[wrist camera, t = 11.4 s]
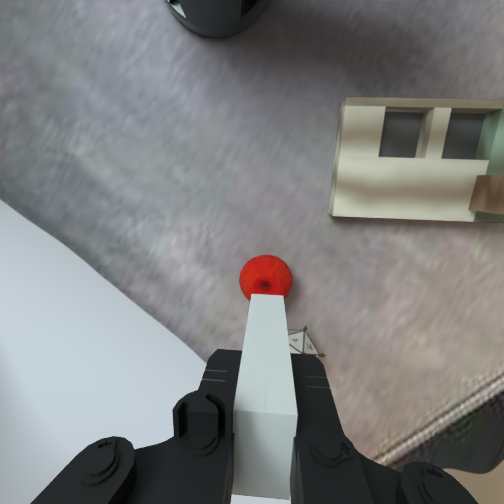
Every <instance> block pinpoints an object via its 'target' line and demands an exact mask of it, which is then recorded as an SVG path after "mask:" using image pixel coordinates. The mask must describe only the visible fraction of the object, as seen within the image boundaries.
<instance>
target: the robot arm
mask: <svg viewBox="0 0 504 504" xmlns="http://www.w3.org/2000/svg"><path fill="white" fill-rule="evenodd" d="M165 1H166V3H167V5H168V7H169V8H170V10H171V11H172V13H173V14H174V16H175V17H176V18H177V19H178V20H179V21H180V22H181V23H182V24H183V25H184V26H185V27H187V28H188V29H189V30H191V31H193V32H195V33H196V34H199V35H202V36H205V37H209V38H225V37H230V36H233V35H235V34H238V33H240V32H242V31H243V30H245V29H246V28H248V27H249V26H250V25H252V24H253V23H254V22H255V21H256V20H257V19H258V17H259V16H260V15H261V14H262V12H263V11H264V9H265V8H266V6H267V4H268V2H269V0H165ZM173 426H174V437H172V438H170V439H168V440H167V441H165V442H162V443H159V444H157V445H152V446H147V447H144V448H139V449H135V450H134V448H133V445H132V443H131V442H130V441H128V440H127V439H125V438H123V437H115V436H113V437H108V438H103V439H100V440H98V441H96V442H95V443H93V444H90V445H88V446H87V447H86V448H85V449H84V450H83V451H81V452H80V453H79V454H78V455H76V456H75V458H74V459H73V460H72V461H71V462H70V463H69V464H68V465H67V466H66V467H65V468H64V469H63V470H62V471H61V472H60V473H59V474H58V475H57V476H56V477H55V478H54V479H53V481H52V482H51V483H50V484H49V485H48V486H47V487H46V488H45V489H44V490H43V491H42V492H41V493H40V494H39V495H38V496H37V497H36V498H35V499H34V501H32V503H31V504H230V502H231V495H232V494H235V495H245V496H256V497H265V498H266V497H267V498H276V499H286V500H289V498H290V496H291V504H478V503H477V501H475V499H474V498H473V497H472V495H471V494H470V493H469V492H468V491H467V490H466V489H465V488H464V487H463V486H462V485H461V484H460V483H459V482H458V481H457V480H456V479H455V478H454V477H453V476H451V475H450V474H448V473H447V472H445V471H444V470H442V469H441V468H439V467H436V466H434V465H431V464H428V463H426V462H411V463H409V464H407V465H405V466H404V468H403V470H402V472H398V471H396V470H393V469H391V468H388V467H386V466H383V465H381V464H378V463H376V462H374V461H372V460H370V459H368V458H366V457H365V456H363V455H362V454H361V453H359V452H358V451H357V450H356V449H355V447H354V446H353V444H352V442H351V441H350V440H349V439H348V438H347V437H346V436H345V435H344V432H343V430H342V427H341V423H340V420H339V417H338V413H337V410H336V406H335V403H334V400H333V396H332V393H331V389H330V386H329V382H328V379H327V376H326V372H325V369H324V365H323V364H322V363H321V362H320V360H319V359H318V358H317V357H316V356H315V355H312V354H297V353H290V348H289V339H288V331H287V323H286V314H285V306H284V298H283V296H281V295H264V294H251V300H250V307H249V313H248V319H247V326H246V332H245V338H244V345H243V351H239V350H224V349H217V350H216V351H215V352H214V353H213V354H212V355H211V356H210V357H209V360H208V362H207V365H206V369H205V371H204V374H203V377H202V381H201V383H200V386H199V389H198V390H197V391H194V392H191V393H189V394H187V395H185V396H184V397H183V398H181V399H180V400H179V401H178V403H177V404H176V405H175V407H174V408H173Z"/></svg>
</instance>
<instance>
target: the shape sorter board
mask: <svg viewBox="0 0 504 504" xmlns="http://www.w3.org/2000/svg"><path fill="white" fill-rule="evenodd" d="M502 174H504V100H498V99H439V98H380V97H346V98H345V99H344V100H343V101H342V102H341V103H340V111H339V120H338V129H337V138H336V147H335V157H334V166H333V175H332V184H331V193H330V203H329V212H328V214H330V215H332V216H344V217H368V218H393V219H418V220H442V221H467V222H491V223H504V214H494V213H487V212H480V211H474V210H468V208H469V204H470V200H471V196H472V193H473V189H474V185H475V181H476V177H477V175H502Z"/></svg>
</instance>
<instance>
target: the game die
mask: <svg viewBox="0 0 504 504" xmlns="http://www.w3.org/2000/svg"><path fill="white" fill-rule="evenodd" d="M306 330H307V326H305V327H304V330H287V331H288V339H289V348H290V353H297V354H312V355H315V356H316V357H317V358H319V356H321V357H324V356H326V355H324V354H322V353H321V354H319V352H318V351H317V349H316V347H315V346H314V344H313V343H312V341H311V339H310V338H309V336H308V335H307V333H306Z"/></svg>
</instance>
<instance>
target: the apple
mask: <svg viewBox="0 0 504 504" xmlns="http://www.w3.org/2000/svg"><path fill="white" fill-rule="evenodd" d="M239 283H240V287H241V290H242V292H243V294H244V295H245V297H246V298H247V299H248V300H249V301H250V300H251V294H264V295H281V296H283V298H284V299H285V298H286V297H287V295H288V293H289V291H290V289H291V286H292V275H291V272H290V269H289V268H288V266H287V264H286V263H285V262H284V261H283V260H281V259H280V258H278V257H275V256H272V255H262V256H258V257H255V258H252V259H251V260H249V261H248V262H247V263H246V264H245V265H244V266H243V268H242V270H241V273H240V278H239Z"/></svg>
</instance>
